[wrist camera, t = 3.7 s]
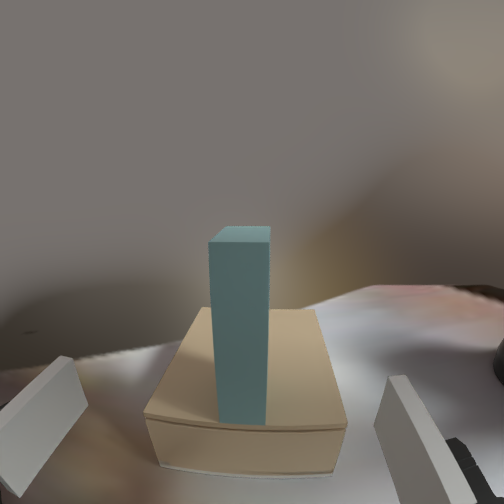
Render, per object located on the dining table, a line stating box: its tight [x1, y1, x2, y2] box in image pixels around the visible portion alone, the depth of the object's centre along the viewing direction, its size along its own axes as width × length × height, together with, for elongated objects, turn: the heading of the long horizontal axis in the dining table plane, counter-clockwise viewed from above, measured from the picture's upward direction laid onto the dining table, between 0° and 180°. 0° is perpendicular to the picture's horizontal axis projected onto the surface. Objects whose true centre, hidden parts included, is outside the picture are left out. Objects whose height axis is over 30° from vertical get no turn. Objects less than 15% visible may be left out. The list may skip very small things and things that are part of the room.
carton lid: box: [143, 226, 348, 430], centre depth 26 cm, size 20×14×12 cm
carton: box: [145, 418, 346, 479], centre depth 28 cm, size 20×14×6 cm
